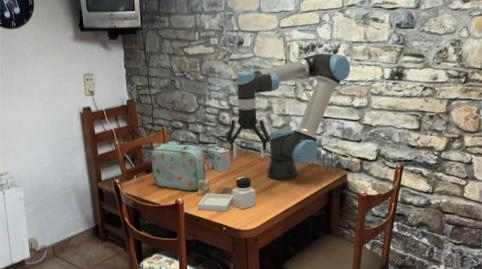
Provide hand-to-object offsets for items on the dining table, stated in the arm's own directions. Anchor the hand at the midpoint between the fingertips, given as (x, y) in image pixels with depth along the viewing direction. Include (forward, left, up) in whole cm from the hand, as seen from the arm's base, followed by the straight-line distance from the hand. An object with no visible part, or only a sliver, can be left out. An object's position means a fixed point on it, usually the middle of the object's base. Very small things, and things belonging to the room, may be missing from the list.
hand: (248, 156), depth 198 cm
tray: (+12, +12, -18) cm, 25 cm away
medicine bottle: (0, +11, -19) cm, 21 cm away
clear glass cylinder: (+22, 0, -18) cm, 28 cm away
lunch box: (+36, -7, -19) cm, 41 cm away
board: (+11, 0, -19) cm, 22 cm away
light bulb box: (+25, -36, -19) cm, 48 cm away
